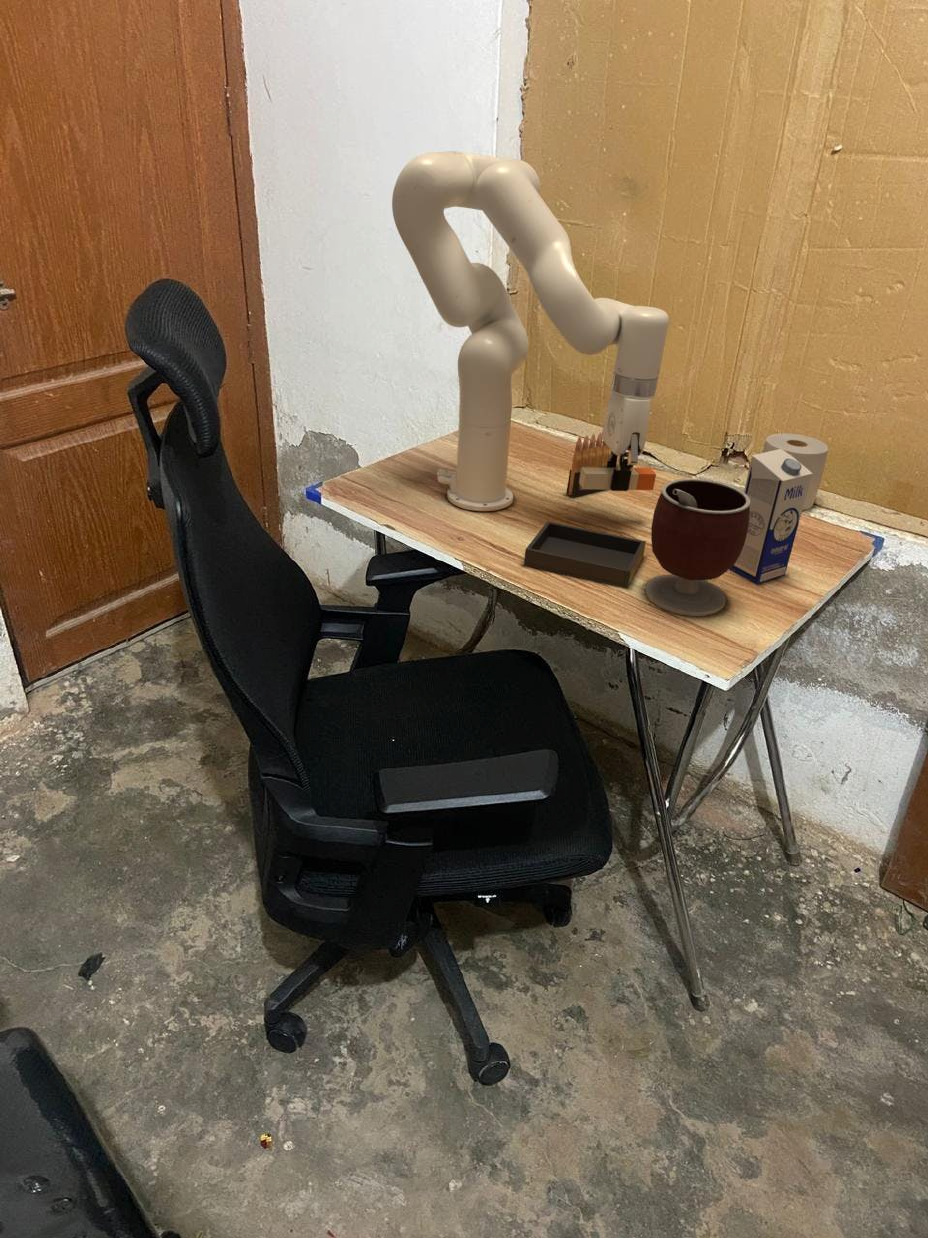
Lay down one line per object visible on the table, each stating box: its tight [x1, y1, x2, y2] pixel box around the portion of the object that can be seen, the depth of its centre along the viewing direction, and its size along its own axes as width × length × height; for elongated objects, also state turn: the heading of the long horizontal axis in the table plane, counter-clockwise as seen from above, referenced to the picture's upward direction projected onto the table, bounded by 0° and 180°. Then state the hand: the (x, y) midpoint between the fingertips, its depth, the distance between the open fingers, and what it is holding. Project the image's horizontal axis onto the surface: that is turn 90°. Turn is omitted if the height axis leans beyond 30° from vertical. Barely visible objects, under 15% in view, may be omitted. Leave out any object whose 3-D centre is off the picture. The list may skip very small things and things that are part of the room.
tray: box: [523, 521, 647, 589], centre depth 144 cm, size 17×12×3 cm
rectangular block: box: [579, 467, 657, 491], centre depth 155 cm, size 13×3×3 cm, turn 99°
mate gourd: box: [645, 478, 750, 617], centre depth 130 cm, size 16×14×20 cm
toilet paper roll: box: [761, 432, 829, 511], centre depth 170 cm, size 12×12×12 cm
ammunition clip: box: [566, 431, 611, 499], centre depth 169 cm, size 11×2×12 cm, turn 124°
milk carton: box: [729, 449, 813, 585], centre depth 140 cm, size 7×7×20 cm
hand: (616, 485), depth 155 cm, fingers closed on rectangular block, 3 cm apart
